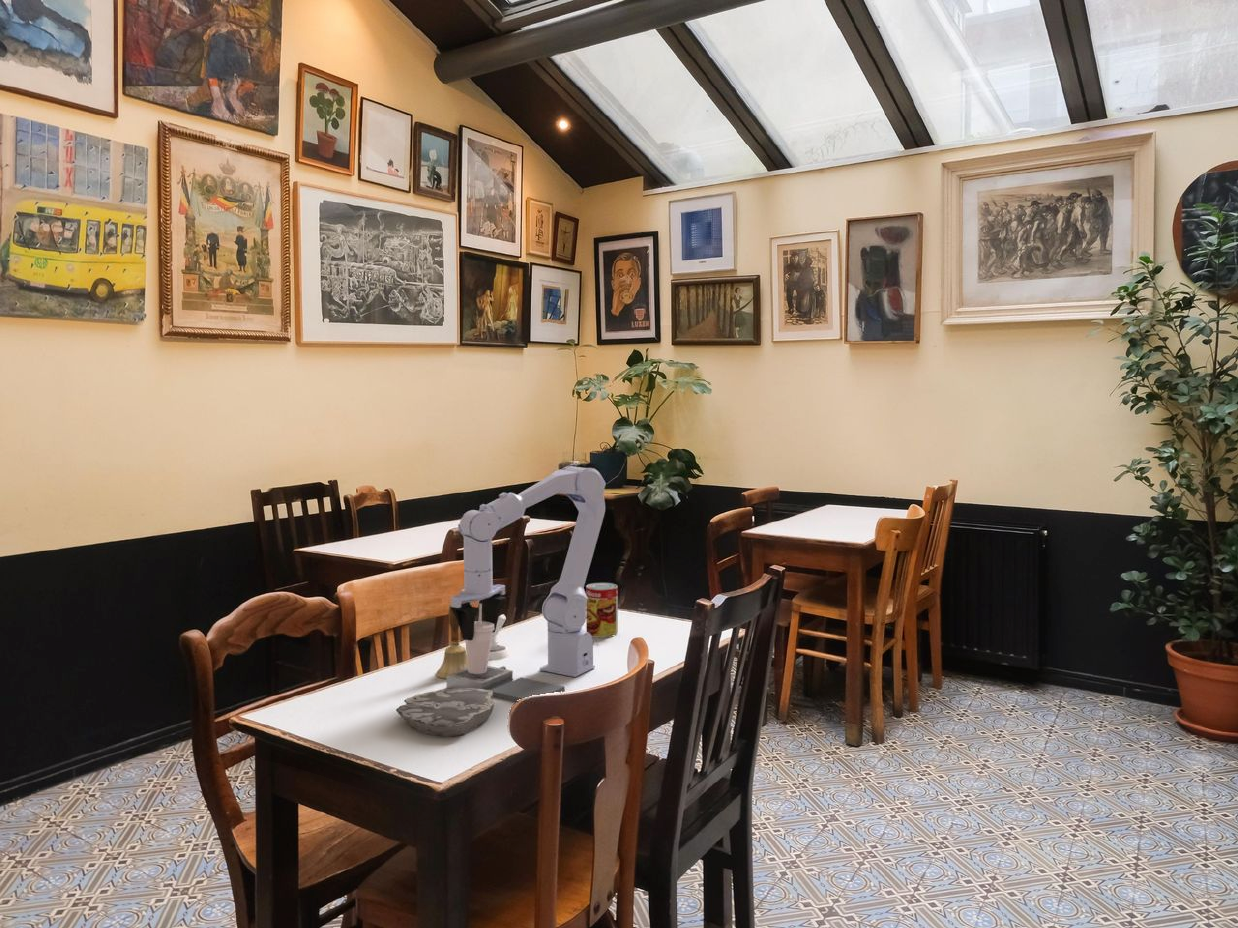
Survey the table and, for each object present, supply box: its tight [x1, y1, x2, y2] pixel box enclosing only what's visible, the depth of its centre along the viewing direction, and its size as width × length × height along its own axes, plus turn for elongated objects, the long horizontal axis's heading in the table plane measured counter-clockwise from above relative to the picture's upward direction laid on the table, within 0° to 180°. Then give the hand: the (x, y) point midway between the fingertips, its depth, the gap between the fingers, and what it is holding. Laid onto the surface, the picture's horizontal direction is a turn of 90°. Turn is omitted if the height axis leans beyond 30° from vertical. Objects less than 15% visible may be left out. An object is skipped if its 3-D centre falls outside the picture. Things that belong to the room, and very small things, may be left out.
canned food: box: [585, 582, 619, 638], centre depth 218 cm, size 8×8×12 cm
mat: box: [491, 677, 566, 703], centre depth 173 cm, size 11×10×1 cm
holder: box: [445, 665, 514, 690], centre depth 179 cm, size 10×12×2 cm
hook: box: [488, 614, 511, 661], centre depth 198 cm, size 8×12×7 cm
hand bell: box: [435, 604, 468, 680], centre depth 185 cm, size 8×8×16 cm
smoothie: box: [464, 602, 494, 674], centre depth 177 cm, size 6×6×14 cm
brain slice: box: [395, 688, 495, 738], centre depth 159 cm, size 20×17×3 cm
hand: (479, 635), depth 177 cm, fingers closed on smoothie, 6 cm apart
